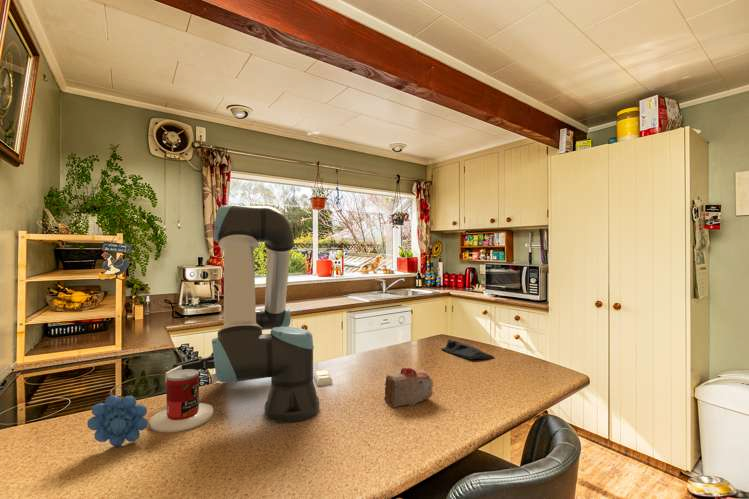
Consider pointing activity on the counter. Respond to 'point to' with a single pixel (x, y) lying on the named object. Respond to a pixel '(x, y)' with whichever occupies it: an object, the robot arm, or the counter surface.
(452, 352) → the dark slate chunk
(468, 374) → the counter surface
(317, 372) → the soap bar
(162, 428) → the plate
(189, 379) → the canned food
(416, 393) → the food item
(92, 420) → the grapes
